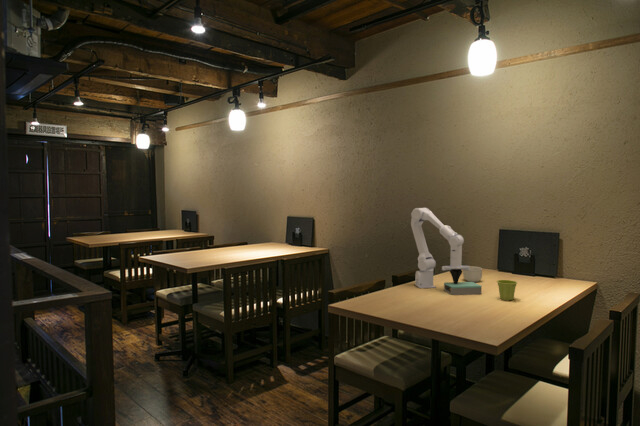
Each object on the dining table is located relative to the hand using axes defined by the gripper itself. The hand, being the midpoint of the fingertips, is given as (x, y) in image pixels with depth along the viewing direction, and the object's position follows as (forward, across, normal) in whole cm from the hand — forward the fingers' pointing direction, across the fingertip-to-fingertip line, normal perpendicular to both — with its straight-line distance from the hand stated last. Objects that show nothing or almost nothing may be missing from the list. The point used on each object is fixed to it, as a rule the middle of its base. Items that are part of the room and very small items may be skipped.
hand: (455, 283), depth 225 cm
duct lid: (+1, +3, -2) cm, 4 cm away
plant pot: (+5, +19, -17) cm, 26 cm away
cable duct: (+4, +3, -2) cm, 6 cm away
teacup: (+5, +21, +25) cm, 33 cm away
